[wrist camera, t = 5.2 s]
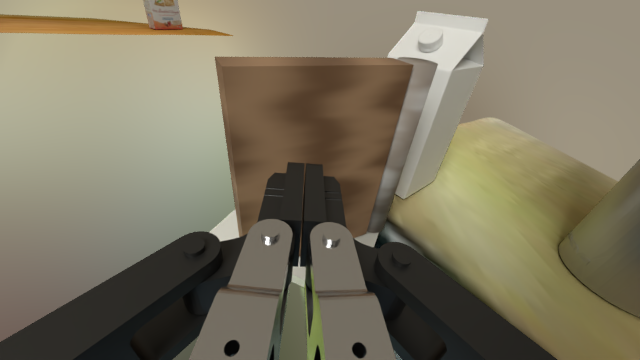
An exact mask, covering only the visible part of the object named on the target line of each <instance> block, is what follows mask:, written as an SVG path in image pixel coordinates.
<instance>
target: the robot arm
mask: <svg viewBox="0 0 640 360" xmlns="http://www.w3.org/2000/svg"><path fill="white" fill-rule="evenodd" d="M304 166H305V163H295V162H288V164H287V171H286V173H274V174H273V175H272V176H271V177H270V178H269V179H268V181H267V185H266V189H265V193H264V197H263V201H262V205H261V209H260V213H259V217H258V221H257V223H256V224H254V225H253V226H252V227H251V228H250V230H249V232H248V233H247V234H246V235H244V236H241V237H239V238H235V239H230V240H225V241H220V240H219V239H218V237H217V236H215V235H214V234H212V233H209V232H193V233H189V234H187V235H184V236H183V237H181V238H179V239H177V240H175V241H174V242H172V243H171V244H169V245H167V246H165V247H164V248H162V249H160V250H158V251H156V252H155V253H153V254H151V255H150V256H148V257H146V258H144V259H143V260H141V261H140V262H137V263H136V264H134V265H132V266H131V267H129V268H127V269H125V270H124V271H122V272H120V273H118V274H117V275H115V276H113V277H112V278H110V279H108V280H106V281H105V282H103V283H101V284H100V285H98V286H96V287H94V288H93V289H91V290H89V291H88V292H86V293H84V294H83V295H81V296H79V297H77V298H75V299H74V300H72V301H70V302H69V303H67V304H65V305H63V306H62V307H60V308H58V309H56V310H55V311H53V312H51V313H49V314H48V315H46V316H44V317H43V318H41V319H39V320H37V321H36V322H34V323H32V324H31V325H29V326H27V327H25V328H24V329H22V330H20V331H18V332H17V333H15V334H13V335H12V336H10V337H8V338H7V339H5V340H3V341H1V342H0V360H172V359H173V358H175V357H176V356H177V355H178V354H179V353H180V352H181V351H182V350H183V349H184V348H186V347H187V346H188V345H189V344H190V343H191V342H192V341H193V340H195V339H196V338H197V337H198V336H199V337H198V339H197V341H196V344H195V347H194V349H193V351H192V354H191V357H190V358H189V360H278V359H279V352H280V343H281V336H282V330H283V324H284V318H285V312H286V306H287V300H288V294H289V287H290V282H291V280H292V271H293V266H294V267H298V262H299V250H300V238H301V254H300V267H306V274H305V285H304V290H305V309H306V327H307V360H396V357H395V354H394V351H393V349H394V350H395V352H396V353H397V354H398V355H399V356H400V357H401V358H402V359H403V360H557V359H556V358H555V357H553V356H552V355H551V354H549V353H548V352H547V351H545V350H544V349H543V348H542V347H540V346H539V345H538V344H536V343H535V342H534V341H532V340H531V339H530V338H528V337H527V336H526V335H525V334H523V333H522V332H521V331H519V330H518V329H517V328H515V327H514V326H513V325H512V324H510V323H509V322H508V321H506V320H505V319H504V318H502V317H501V316H500V315H499V314H497V313H496V312H495V311H493V310H492V309H491V308H489V307H488V306H487V305H486V304H484V303H483V302H482V301H480V300H479V299H478V298H476V297H475V296H474V295H473V294H471V293H470V292H469V291H467V290H466V289H465V288H463V287H462V286H461V285H459V284H458V283H457V282H456V281H454V280H453V279H452V278H450V277H449V276H448V275H446V274H445V273H444V272H443V271H441V270H440V269H439V268H437V267H436V266H435V265H433V264H432V263H431V262H430V261H428V260H427V259H426V258H424V257H423V256H422V255H420V254H419V253H418V252H417V251H415V250H414V249H412V248H411V247H409V246H407V245H405V244H402V243H398V242H389V243H386V244H384V245H382V246H381V247H380V249H377V248H374V247H371V246H368V245H365V244H362V243H360V242H358V241H357V240H355V239H354V238H353V237H352V234H351V233H350V231H349V230H348V229H347V227H346V221H345V215H344V208H343V201H342V195H341V188H340V184H339V182H338V181H337V180H336V179H335V177H332V176H323V164H310V163H306V169H305V182H304ZM303 187H304V194H303ZM302 208H303V211H302ZM301 226H302V233H301ZM559 253H560V257H561V258H562V260H563V262H564V264H565V265H566V266H567V267H568V269H569V270H570V271H571V272H572V273H573V274H574V275H575V276H576V277H577V278H578V279H579V280H580V281H581V282H582V283H583V284H584V285H586V286H587V287H588V288H589V289H591V290H592V291H593V292H595V293H596V294H598V295H599V296H601V297H602V298H604V299H605V300H607V301H608V302H610V303H612V304H613V305H615V306H617V307H619V308H620V309H622V310H624V311H626V312H629V313H631V314H633V315H635V316H637V317H640V159H639V161H638V162H637V163H636V164H635V165H634V166H633V167H632V168H631V169H630V170H629V171H628V172H627V173H626V174H625V175H624V176H623V177H622V179H621V180H620V181H619V182H618V183H617V184H616V185H615V186H614V187H613V188H612V189H611V190H610V191H609V192H608V193H607V194H606V195H605V196H604V198H603V199H602V200H601V201H600V202H599V203H598V204H597V205H596V206H595V207H594V208H593V209H592V210H591V211H590V212H589V213H588V214H587V215H586V216H585V218H584V219H583V220H582V221H581V222H580V223H579V224H578V225H577V226H576V227H575V228H574V229H573V230H572V231H571V232H570V233H569V235H568V236H567V237H566V238H565V239H564V240H563V241H562V242H561V243H560V245H559Z"/></svg>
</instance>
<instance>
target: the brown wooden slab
mask: <svg viewBox="0 0 640 360" xmlns="http://www.w3.org/2000/svg"><path fill="white" fill-rule="evenodd" d="M215 61H216V69H217V76H218V82H219V90H220V98H221V106H222V113H223V120H224V128H225V135H226V143H227V149H228V157H229V165H230V172H231V180H232V187H233V194H234V202H235V209H236V217H237V224H238V232H239V237H241V236H244V235H246V234H247V233H248V232H249V230H250V228H251V227H252V226H253V225H254V224H256V223H257V221H258V217H259V213H260V209H261V205H262V201H263V197H264V193H265V189H266V185H267V181H268V179H269V178H270V177H271V176H272V175H273V174H274V173H286V171H287V164H288V162H295V163H305V166H304V182H305V169H306V163H310V164H323V176H332V177H335V179H336V180H337V181H338V182H339V184H340V188H341V195H342V201H343V208H344V215H345V221H346V227H347V229H348V230H349V231H350V233H351V234H352V237H353V238H355V237H358V236H361V235H364V234H366V232H370V233H378V232H380V231H382V230H383V228H384V225H385V222H386V219H387V216H388V213H389V210H390V207H391V204H392V201H393V198H394V195H395V192H396V189H397V186H398V183H399V180H400V177H401V174H402V171H403V168H404V165H405V162H406V159H407V156H408V153H409V150H410V147H411V144H412V141H413V138H414V135H415V132H416V129H417V126H418V123H419V120H420V117H421V114H422V111H423V108H424V105H425V102H426V99H427V96H428V93H429V90H430V87H431V84H432V81H433V78H434V75H435V72H436V69H437V66H438V64H437V63H435V62H432V61H429V60H424V59H419V58H411V57H399V58H398V59H394V58H324V57H318V58H317V57H316V58H315V57H306V58H305V57H215ZM303 194H304V187H303ZM302 211H303V208H302ZM301 233H302V226H301ZM300 254H301V238H300V250H299V256H300Z"/></svg>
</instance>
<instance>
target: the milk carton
mask: <svg viewBox="0 0 640 360" xmlns="http://www.w3.org/2000/svg"><path fill="white" fill-rule="evenodd" d="M488 20H489V19H484V18H483V19H482V18H475V17H466V16H457V15H448V14H440V13H430V12H422V11H418V12H417V15H416V19H415V23H414V24H413V25H412V26H411V28H410V29H409V30H408V31H407V32H406V34H405V35H404V36H403V37H402V38H401V39H400V41H399V42H398V43H397V44H396V45H395V47H394V48H393V49H392V50H391V51H390V53H389V54H388V57H387V58H394V59H398V58H399V57H411V58H419V59H424V60H429V61H432V62H435V63H437V64H438V66H437V69H436V72H435V75H434V78H433V81H432V84H431V87H430V90H429V93H428V96H427V99H426V102H425V105H424V108H423V111H422V114H421V117H420V120H419V123H418V126H417V129H416V132H415V135H414V138H413V141H412V144H411V147H410V150H409V153H408V156H407V159H406V162H405V165H404V168H403V171H402V174H401V177H400V180H399V183H398V186H397V189H396V192H395V194H396V195H398V196H399V197H401V198H403V199H405V198H407V197H409V196H410V195H412V194H413V193H415V192H417V191H418V190H420V189H421V188H423V187H425V186H426V185H428V184H430V183H431V182H433V181H434V179H435V177H436V175H437V173H438V170H439V168H440V166H441V163H442V161H443V159H444V156H445V154H446V152H447V149H448V147H449V145H450V142H451V140H452V138H453V135H454V133H455V131H456V128H457V126H458V124H459V121H460V119H461V116H462V114H463V112H464V110H465V107H466V105H467V103H468V100H469V98H470V95H471V93H472V91H473V89H474V86H475V84H476V82H477V79H478V77H479V75H480V72H481V70H482V68H483V65H484V64H483V63H484V56H483V54H484V53H483V33H484V30H485V28H486V25H487V23H488Z"/></svg>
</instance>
